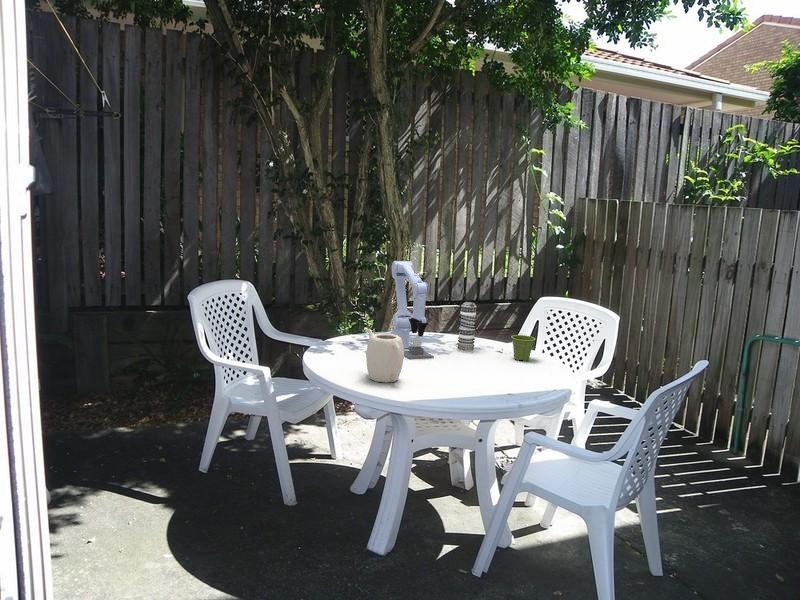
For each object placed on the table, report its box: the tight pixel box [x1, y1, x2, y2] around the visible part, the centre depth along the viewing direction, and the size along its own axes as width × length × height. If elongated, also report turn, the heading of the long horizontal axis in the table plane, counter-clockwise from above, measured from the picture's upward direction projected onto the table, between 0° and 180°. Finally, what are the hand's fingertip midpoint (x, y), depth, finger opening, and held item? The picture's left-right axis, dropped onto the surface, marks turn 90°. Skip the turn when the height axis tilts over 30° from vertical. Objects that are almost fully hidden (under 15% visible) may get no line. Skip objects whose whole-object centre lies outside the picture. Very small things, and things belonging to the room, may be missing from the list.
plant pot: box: [511, 334, 536, 362], centre depth 346 cm, size 12×12×11 cm
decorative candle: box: [456, 301, 478, 354], centre depth 357 cm, size 9×9×25 cm
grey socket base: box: [404, 345, 435, 360], centre depth 343 cm, size 13×13×5 cm
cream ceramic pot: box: [365, 329, 405, 384], centre depth 296 cm, size 16×27×19 cm, turn 33°
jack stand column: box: [412, 337, 422, 349], centre depth 342 cm, size 3×3×7 cm
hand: (417, 334), depth 341 cm, fingers open, 7 cm apart
